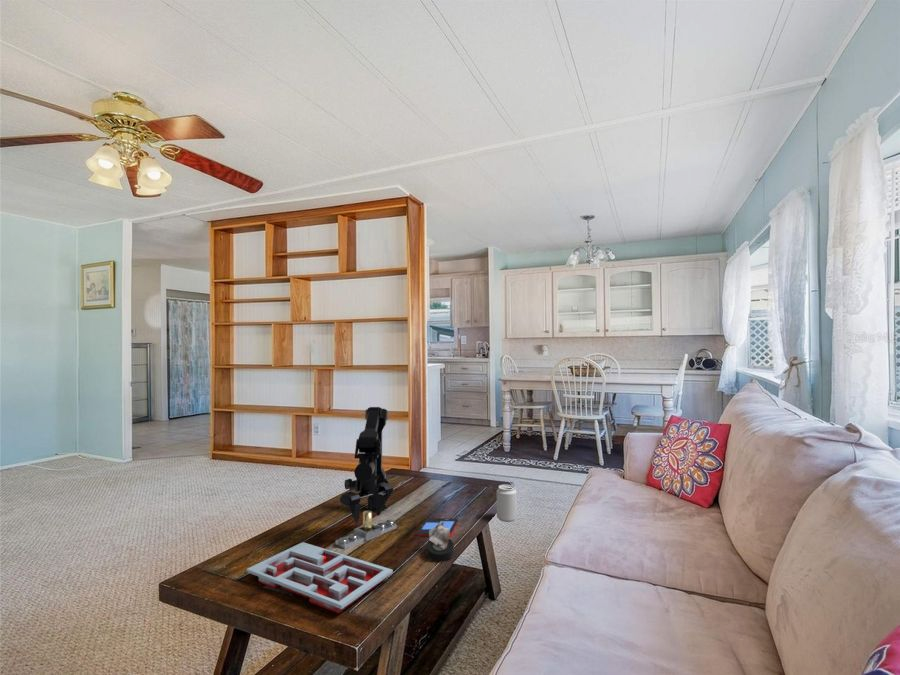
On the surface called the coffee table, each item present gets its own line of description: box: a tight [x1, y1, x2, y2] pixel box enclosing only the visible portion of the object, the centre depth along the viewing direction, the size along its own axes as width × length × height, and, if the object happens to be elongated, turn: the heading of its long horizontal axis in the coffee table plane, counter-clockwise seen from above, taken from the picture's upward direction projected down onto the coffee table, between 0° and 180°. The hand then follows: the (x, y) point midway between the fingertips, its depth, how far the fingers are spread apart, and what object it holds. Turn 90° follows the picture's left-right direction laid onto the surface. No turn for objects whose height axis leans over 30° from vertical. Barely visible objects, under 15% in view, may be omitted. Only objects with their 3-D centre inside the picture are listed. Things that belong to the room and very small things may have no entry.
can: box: [496, 484, 518, 523], centre depth 165 cm, size 8×8×12 cm
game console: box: [414, 517, 459, 539], centre depth 155 cm, size 14×13×2 cm
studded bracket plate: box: [335, 519, 398, 550], centre depth 149 cm, size 23×6×2 cm, turn 139°
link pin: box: [362, 509, 373, 532], centre depth 150 cm, size 3×3×8 cm
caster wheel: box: [426, 521, 455, 562], centre depth 137 cm, size 7×11×10 cm
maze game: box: [246, 541, 394, 614], centre depth 121 cm, size 35×20×3 cm, turn 60°
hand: (367, 519), depth 149 cm, fingers open, 9 cm apart
